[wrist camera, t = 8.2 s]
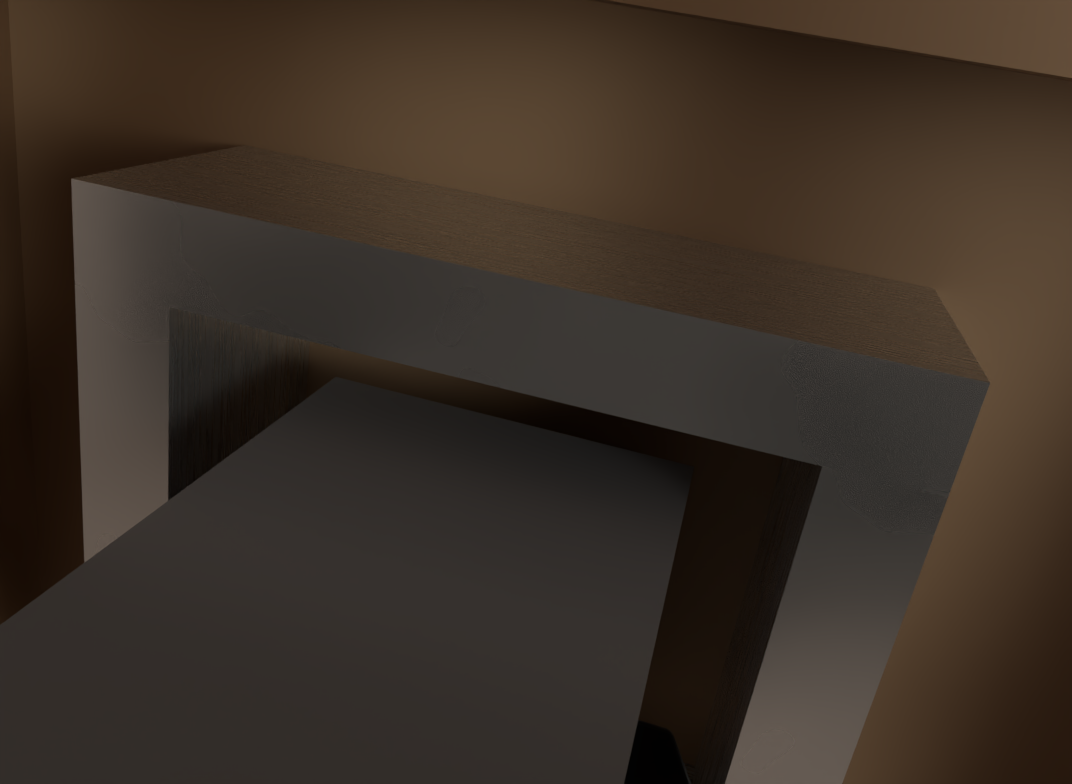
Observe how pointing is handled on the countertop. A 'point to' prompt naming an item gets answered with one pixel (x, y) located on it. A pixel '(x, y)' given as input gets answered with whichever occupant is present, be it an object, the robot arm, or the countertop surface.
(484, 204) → the collar
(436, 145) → the walnut box
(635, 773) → the robot arm
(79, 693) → the grey box with knob
